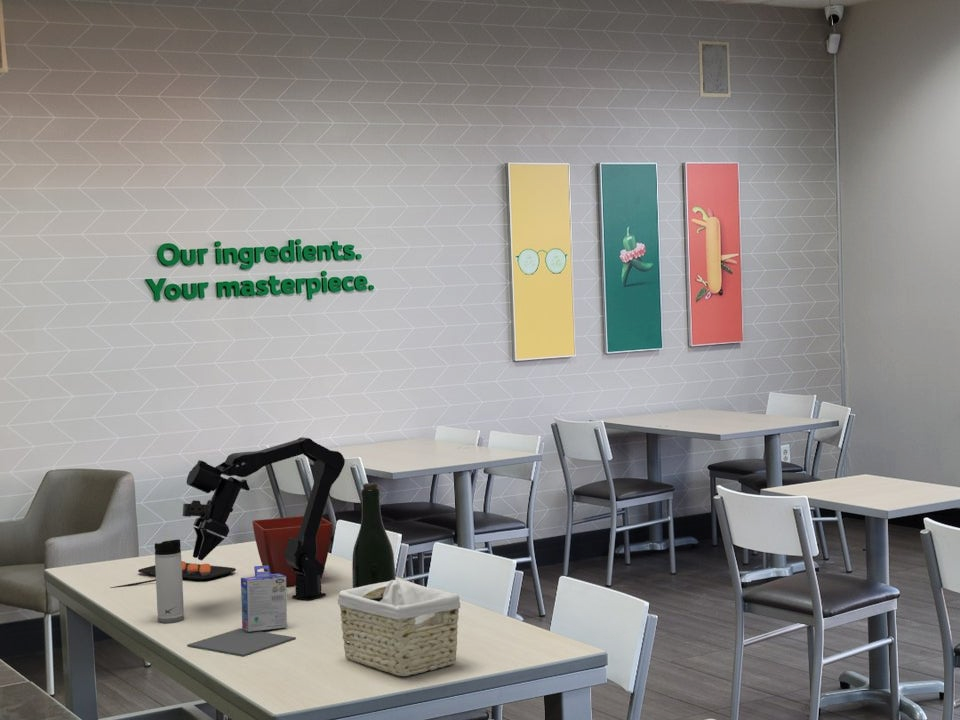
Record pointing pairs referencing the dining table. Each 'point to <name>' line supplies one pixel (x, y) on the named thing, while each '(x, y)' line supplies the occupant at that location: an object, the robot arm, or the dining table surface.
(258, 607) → the ink cartridge box
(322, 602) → the dining table surface
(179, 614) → the travel mug
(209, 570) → the sushi plate
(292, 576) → the plant pot
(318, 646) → the dining table surface
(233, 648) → the mat
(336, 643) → the dining table surface
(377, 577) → the green wine bottle
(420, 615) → the storage basket
